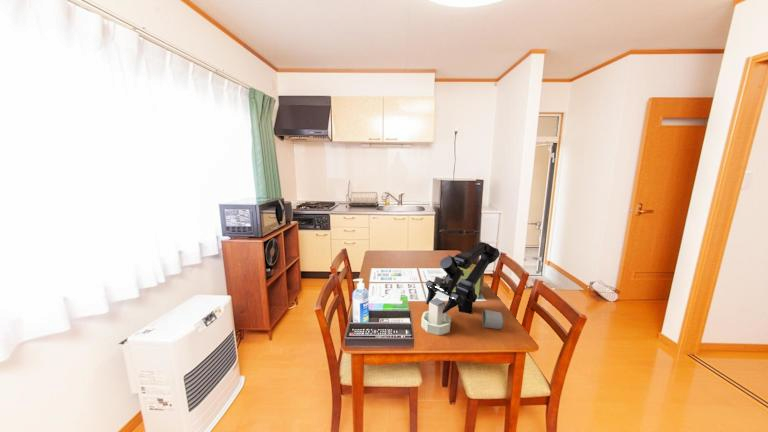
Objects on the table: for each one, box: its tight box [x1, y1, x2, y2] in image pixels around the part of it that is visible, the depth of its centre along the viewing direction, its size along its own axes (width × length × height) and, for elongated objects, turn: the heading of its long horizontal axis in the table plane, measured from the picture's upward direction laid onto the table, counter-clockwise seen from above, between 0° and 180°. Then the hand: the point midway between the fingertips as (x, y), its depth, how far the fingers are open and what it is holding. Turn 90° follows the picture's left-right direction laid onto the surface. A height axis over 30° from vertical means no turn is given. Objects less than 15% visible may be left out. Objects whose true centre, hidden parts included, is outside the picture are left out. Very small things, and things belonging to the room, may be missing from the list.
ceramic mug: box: [481, 309, 505, 330], centre depth 120 cm, size 11×8×8 cm
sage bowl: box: [420, 310, 452, 336], centre depth 119 cm, size 13×13×4 cm
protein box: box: [452, 263, 485, 300], centre depth 151 cm, size 10×15×16 cm
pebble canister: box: [428, 297, 446, 325], centre depth 119 cm, size 5×5×11 cm
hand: (434, 308), depth 117 cm, fingers open, 9 cm apart
